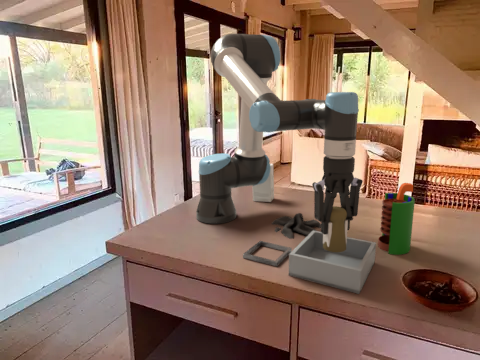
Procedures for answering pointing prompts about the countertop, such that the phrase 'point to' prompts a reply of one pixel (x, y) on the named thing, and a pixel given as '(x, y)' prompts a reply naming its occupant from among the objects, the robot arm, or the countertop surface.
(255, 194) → the skincare box
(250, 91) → the robot arm
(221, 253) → the countertop surface
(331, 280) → the bin
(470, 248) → the countertop surface
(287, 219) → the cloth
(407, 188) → the motor
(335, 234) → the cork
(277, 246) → the collar
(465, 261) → the countertop surface
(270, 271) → the countertop surface
